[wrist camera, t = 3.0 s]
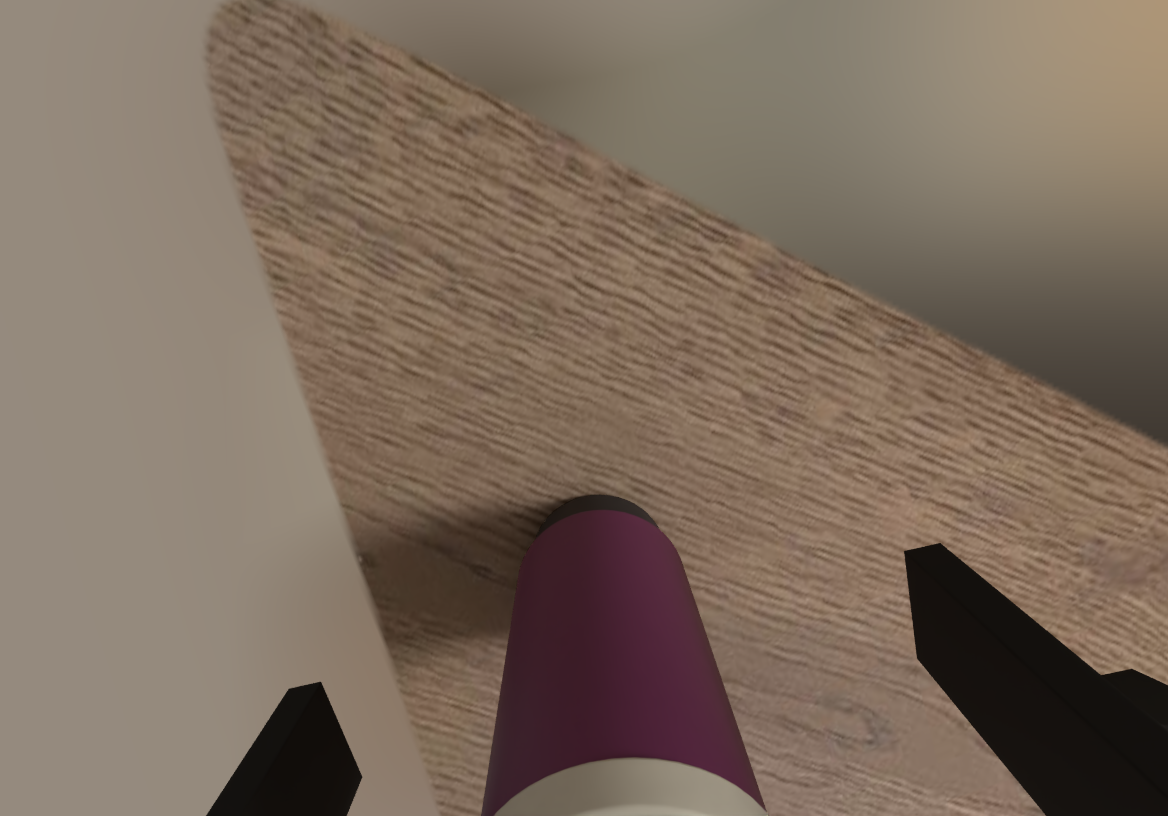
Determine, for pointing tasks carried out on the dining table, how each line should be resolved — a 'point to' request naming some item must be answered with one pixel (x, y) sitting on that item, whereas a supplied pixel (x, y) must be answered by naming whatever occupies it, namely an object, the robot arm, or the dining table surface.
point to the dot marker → (612, 681)
